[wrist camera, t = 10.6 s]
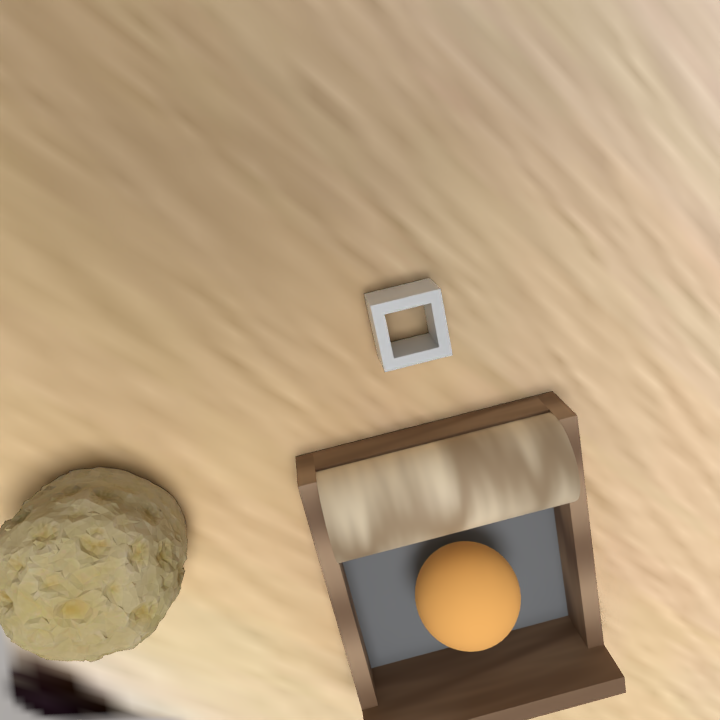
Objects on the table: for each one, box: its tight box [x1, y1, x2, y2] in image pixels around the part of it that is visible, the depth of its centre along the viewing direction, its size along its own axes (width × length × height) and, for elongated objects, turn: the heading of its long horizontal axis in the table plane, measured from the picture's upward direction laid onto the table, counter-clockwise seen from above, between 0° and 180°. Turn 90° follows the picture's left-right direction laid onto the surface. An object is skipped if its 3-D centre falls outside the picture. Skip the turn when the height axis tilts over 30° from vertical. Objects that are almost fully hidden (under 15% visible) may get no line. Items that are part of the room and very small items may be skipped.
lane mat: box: [342, 398, 568, 668], centre depth 42 cm, size 17×15×1 cm
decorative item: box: [0, 467, 187, 662], centre depth 36 cm, size 10×10×10 cm
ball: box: [415, 541, 521, 652], centre depth 40 cm, size 6×6×6 cm
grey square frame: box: [364, 278, 453, 372], centre depth 36 cm, size 4×4×2 cm
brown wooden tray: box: [296, 391, 626, 720], centre depth 40 cm, size 17×15×6 cm
